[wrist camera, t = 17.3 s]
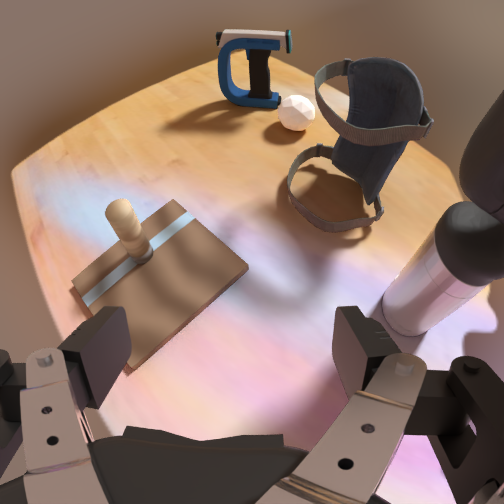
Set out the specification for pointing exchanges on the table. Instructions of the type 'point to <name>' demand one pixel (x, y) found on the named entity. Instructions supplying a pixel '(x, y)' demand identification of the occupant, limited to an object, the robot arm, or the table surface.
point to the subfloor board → (161, 279)
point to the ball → (296, 113)
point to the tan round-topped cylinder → (129, 230)
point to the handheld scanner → (251, 65)
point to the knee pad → (368, 129)
